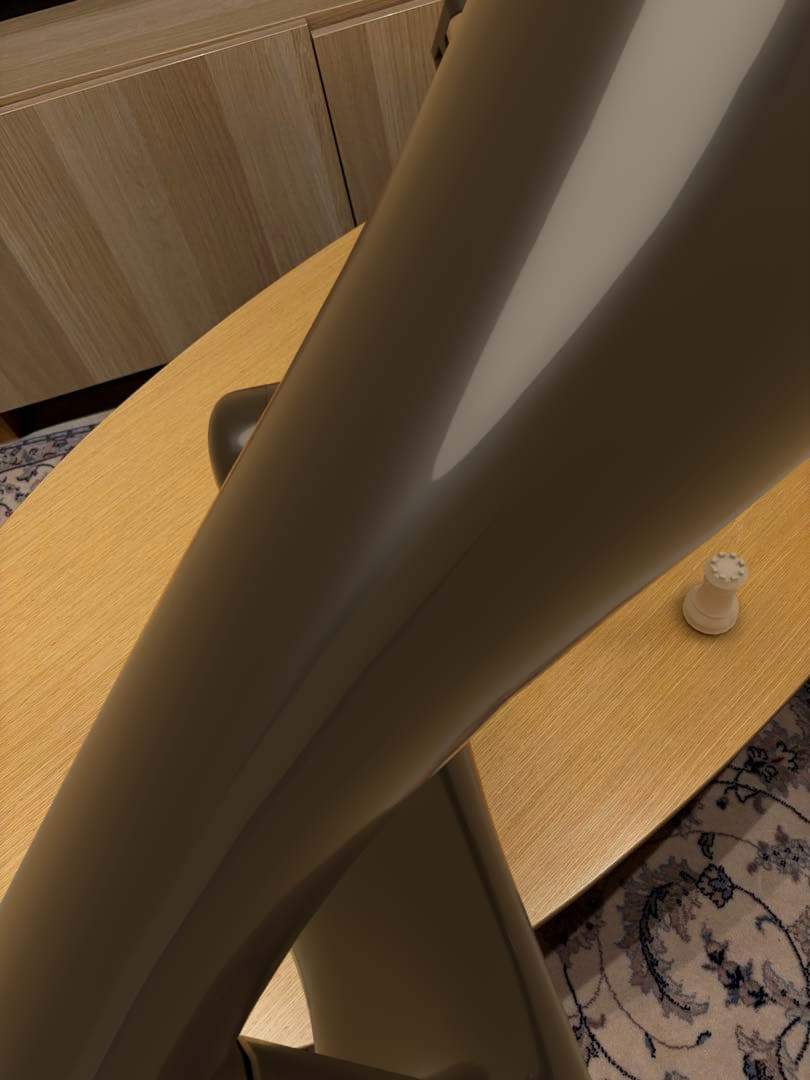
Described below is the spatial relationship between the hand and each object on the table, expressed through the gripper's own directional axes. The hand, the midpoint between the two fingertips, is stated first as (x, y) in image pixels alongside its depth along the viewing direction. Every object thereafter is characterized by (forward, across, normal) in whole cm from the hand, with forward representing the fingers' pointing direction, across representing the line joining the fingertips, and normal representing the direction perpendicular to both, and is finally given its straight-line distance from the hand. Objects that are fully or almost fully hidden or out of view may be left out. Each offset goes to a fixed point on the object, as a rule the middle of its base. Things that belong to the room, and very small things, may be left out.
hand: (569, 71), depth 43 cm
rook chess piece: (+24, +7, -38) cm, 46 cm away
